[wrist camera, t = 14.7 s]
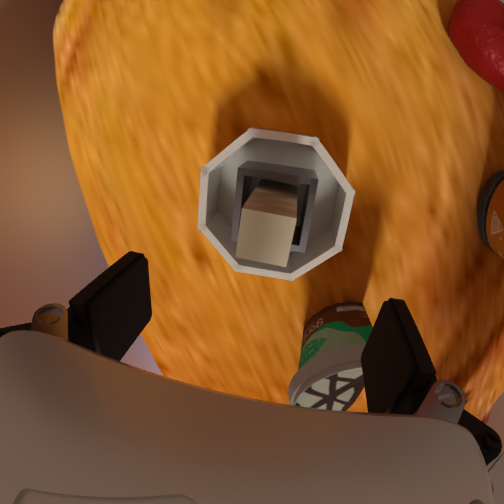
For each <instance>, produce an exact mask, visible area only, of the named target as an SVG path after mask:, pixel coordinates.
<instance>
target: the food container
mask: <svg viewBox="0 0 504 504" xmlns="http://www.w3.org/2000/svg"><path fill="white" fill-rule="evenodd" d="M372 329H373V327H372V325H371V322H370V320H369V317H368V315H367V313H366V310H365V308H364V306H363V303H357V302H346V303H337V304H334V305H331V306H328V307H326V308H324V309H322V310H321V311H319V312H318V313H316V314H315V315H313V316H312V318H311V319H310V320H309V321H308V322H307V324H306V326H305V328H304V331H303V339H302V346H301V354H300V362H299V369H298V372H297V373H296V374H295V375H294V377H293V378H292V380H291V382H290V385H289V390H288V395H289V400H290V405H294V406H301V407H308V408H317V409H326V410H337V411H346V410H347V409H348V408H349V407H350V406H351V405H352V404H353V403H354V402H355V400H356V399H357V397H358V396H359V394H360V393H361V391H362V389H363V388H364V386H365V385H364V378H363V372H362V366H361V354H362V351H363V349H364V347H365V345H366V343H367V340H368V338H369V336H370V334H371V331H372Z"/></svg>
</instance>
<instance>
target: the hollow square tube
mask: <svg viewBox="0 0 504 504" xmlns="http://www.w3.org/2000/svg"><path fill="white" fill-rule="evenodd" d="M252 176H254V177H262V178H269V179H275V180H282V181H289V182H295V183H301V184H306V190H305V196H304V202H303V208H302V214H301V220H300V225H299V227H298V226H295V230H294V234H293V239H292V243H291V248H290V251H296V252H302V253H305V249H306V245H307V240H308V234H309V229H310V224H311V219H312V214H313V208H314V203H315V197H316V192H317V186H318V180H319V179H318V177H317V174H316V172H315V170H310V169H304V168H298V167H292V166H285V165H278V164H271V163H264V162H257V161H249V160H248V161H246V162H245V163H243V164H242V165H240V166H239V167H238V170H237V180H236V190H235V201H234V212H233V223H232V234H231V241H234V242H237V241H238V233H239V226H240V219H241V212H242V207H243V206H244V204H245V203H246V201H247V200H248V198H249V197H250V189H251V180H252Z"/></svg>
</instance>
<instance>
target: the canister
mask: <svg viewBox="0 0 504 504" xmlns="http://www.w3.org/2000/svg"><path fill="white" fill-rule="evenodd" d="M478 228H479V233H480V236H481V238H482V240H483V242H484V243H485V244H486V246H488V247H489V248H490V249H491V250H492V251H494V252H495V253H496V254H497V255H498V256H499V257H500V258H502V259H503V260H504V170H503V171H500V172H499V173H497V174H496V175H494V176H493V177H492V178H491V180H490V181H489V182H488V184H487V185H486V187H485V189H484V191H483V193H482V196H481V199H480V203H479V208H478Z"/></svg>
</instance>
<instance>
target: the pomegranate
mask: <svg viewBox="0 0 504 504" xmlns="http://www.w3.org/2000/svg"><path fill="white" fill-rule="evenodd" d="M448 34H449V37H450V39H451V41H452V43H453V44H454V46H455V47H456V48H457V50H458V52H459V54H460V56H461V57H462V58H463V60H464V62H465V63H466V64H467V65H468V66H469V67H470V68H471V69H472V70H473V71H474V72H475V73H477V74H478V75H479V76H480V77H481V78H482V79H483V80H485V81H486V82H488V83H489V84H491V85H493V86H494V87H496V88H497V89H499V90H502V91H504V3H502V2H501V1H500V0H458V1H457V3H456V4H455V7H454V9H453V15H452V17H451V19H450V21H449V23H448Z"/></svg>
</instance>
